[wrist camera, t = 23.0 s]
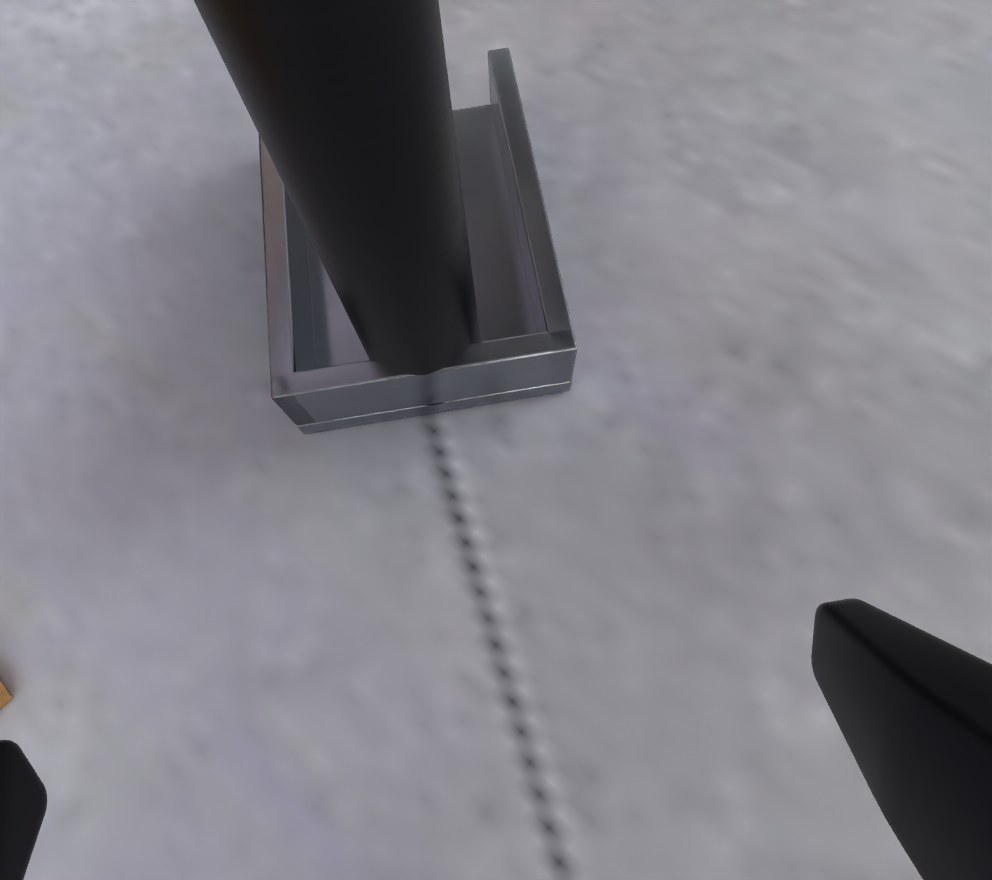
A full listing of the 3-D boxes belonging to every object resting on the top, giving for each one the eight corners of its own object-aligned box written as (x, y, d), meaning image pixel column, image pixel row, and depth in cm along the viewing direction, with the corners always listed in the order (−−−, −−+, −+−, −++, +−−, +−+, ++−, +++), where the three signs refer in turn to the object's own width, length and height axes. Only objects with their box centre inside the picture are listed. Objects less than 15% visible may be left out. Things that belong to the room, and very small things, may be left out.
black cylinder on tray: (570, 391, 17) (693, -323, 5) (304, 435, 17) (-267, -184, 5) (510, 116, 20) (492, -737, 8) (285, 151, 20) (-84, -662, 8)
